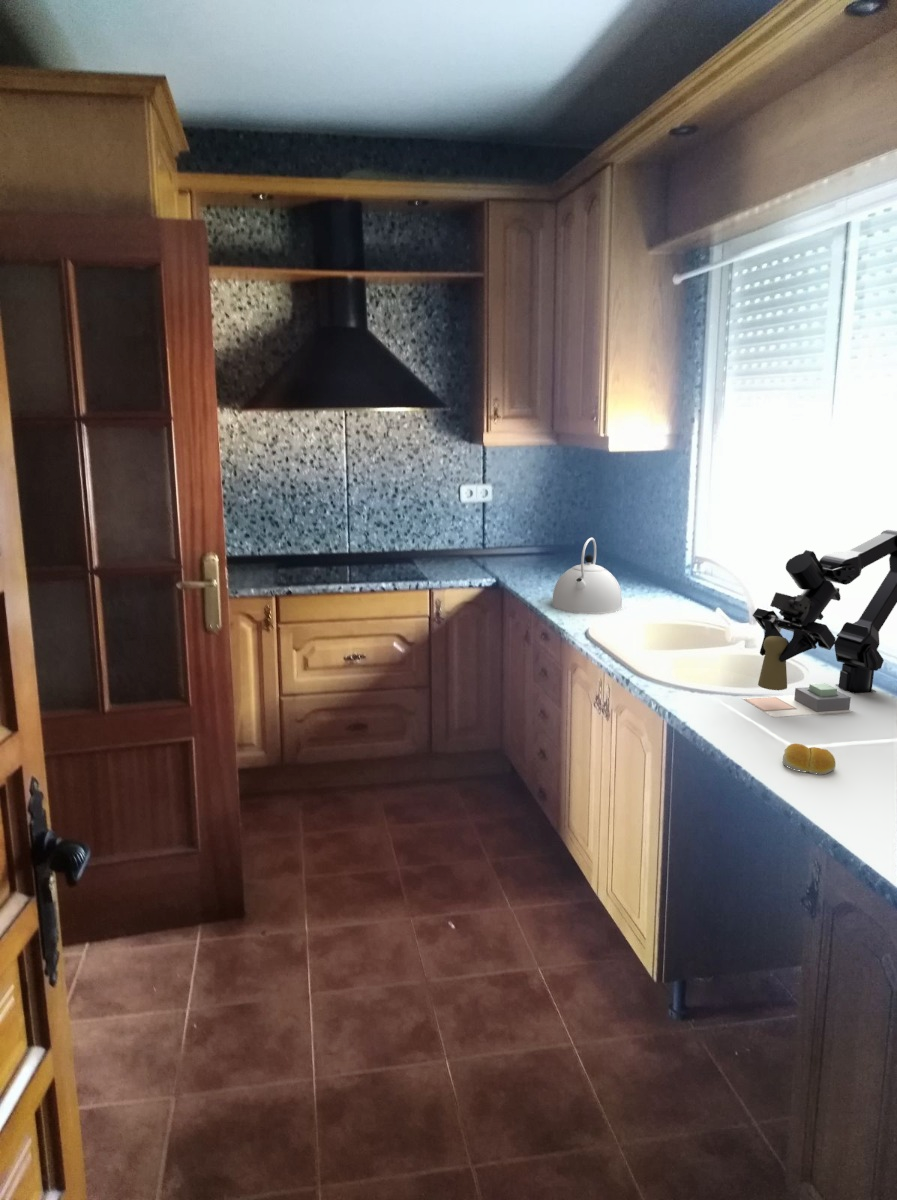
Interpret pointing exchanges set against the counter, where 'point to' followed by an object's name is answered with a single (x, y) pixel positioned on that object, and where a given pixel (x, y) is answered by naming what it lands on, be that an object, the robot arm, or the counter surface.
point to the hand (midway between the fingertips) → (770, 657)
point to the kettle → (587, 588)
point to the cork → (773, 664)
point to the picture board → (801, 704)
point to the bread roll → (808, 759)
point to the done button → (822, 690)
